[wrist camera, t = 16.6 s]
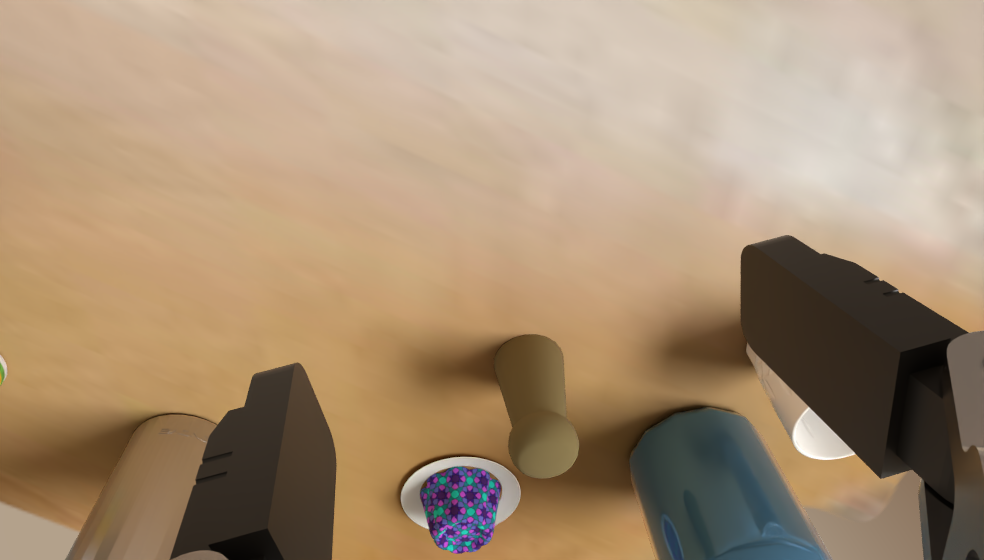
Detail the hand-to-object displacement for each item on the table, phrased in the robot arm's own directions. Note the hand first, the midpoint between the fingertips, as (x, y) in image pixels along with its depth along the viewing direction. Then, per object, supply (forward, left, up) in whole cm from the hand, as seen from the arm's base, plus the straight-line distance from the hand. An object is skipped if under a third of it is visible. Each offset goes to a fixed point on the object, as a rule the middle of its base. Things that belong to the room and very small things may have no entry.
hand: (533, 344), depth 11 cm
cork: (-24, -16, -32) cm, 43 cm away
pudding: (-43, -17, -33) cm, 56 cm away
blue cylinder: (-29, -36, -32) cm, 56 cm away
